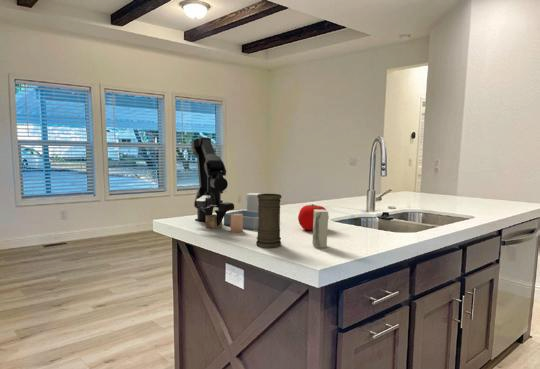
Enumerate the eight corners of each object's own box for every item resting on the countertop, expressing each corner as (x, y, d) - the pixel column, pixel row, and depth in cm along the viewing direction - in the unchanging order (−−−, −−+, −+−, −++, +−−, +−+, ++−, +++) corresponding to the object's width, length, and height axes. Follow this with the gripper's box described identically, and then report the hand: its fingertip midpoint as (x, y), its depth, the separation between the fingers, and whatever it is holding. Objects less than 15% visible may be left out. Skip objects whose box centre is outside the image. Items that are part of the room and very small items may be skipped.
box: (312, 244, 136) (313, 209, 135) (324, 244, 137) (325, 209, 135) (315, 248, 131) (316, 211, 130) (327, 248, 131) (328, 211, 130)
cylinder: (227, 231, 155) (228, 214, 154) (236, 229, 159) (236, 213, 158) (237, 233, 152) (237, 216, 151) (245, 231, 156) (245, 214, 155)
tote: (223, 224, 169) (223, 213, 168) (243, 220, 179) (243, 209, 179) (254, 230, 159) (254, 218, 158) (272, 225, 169) (272, 214, 169)
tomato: (292, 229, 161) (292, 204, 160) (310, 225, 170) (311, 201, 169) (314, 234, 153) (315, 207, 152) (333, 229, 162) (333, 204, 161)
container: (263, 249, 128) (263, 196, 127) (251, 243, 136) (252, 193, 135) (285, 246, 133) (287, 195, 131) (273, 240, 141) (274, 192, 139)
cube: (205, 227, 162) (205, 215, 162) (213, 225, 166) (213, 214, 166) (213, 228, 159) (213, 217, 159) (222, 227, 163) (222, 215, 163)
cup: (260, 220, 181) (261, 195, 180) (244, 219, 182) (244, 194, 181) (264, 217, 189) (264, 193, 187) (248, 216, 190) (248, 192, 189)
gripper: (184, 188, 160) (184, 224, 162) (216, 192, 149) (216, 230, 151) (203, 186, 169) (203, 221, 171) (235, 189, 158) (234, 226, 160)
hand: (213, 224), depth 163 cm, fingers closed on cube, 5 cm apart
